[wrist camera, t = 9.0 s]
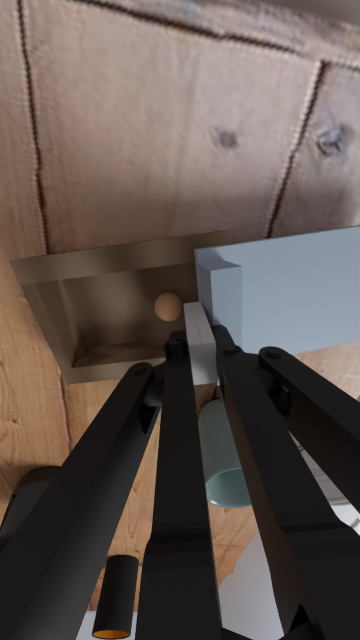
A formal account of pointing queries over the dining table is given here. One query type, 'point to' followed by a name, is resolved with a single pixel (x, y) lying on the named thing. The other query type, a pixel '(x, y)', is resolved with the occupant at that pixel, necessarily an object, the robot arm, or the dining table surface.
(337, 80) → the dining table surface
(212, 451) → the cup
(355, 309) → the lid
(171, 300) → the ball
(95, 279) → the box
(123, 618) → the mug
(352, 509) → the ink box
